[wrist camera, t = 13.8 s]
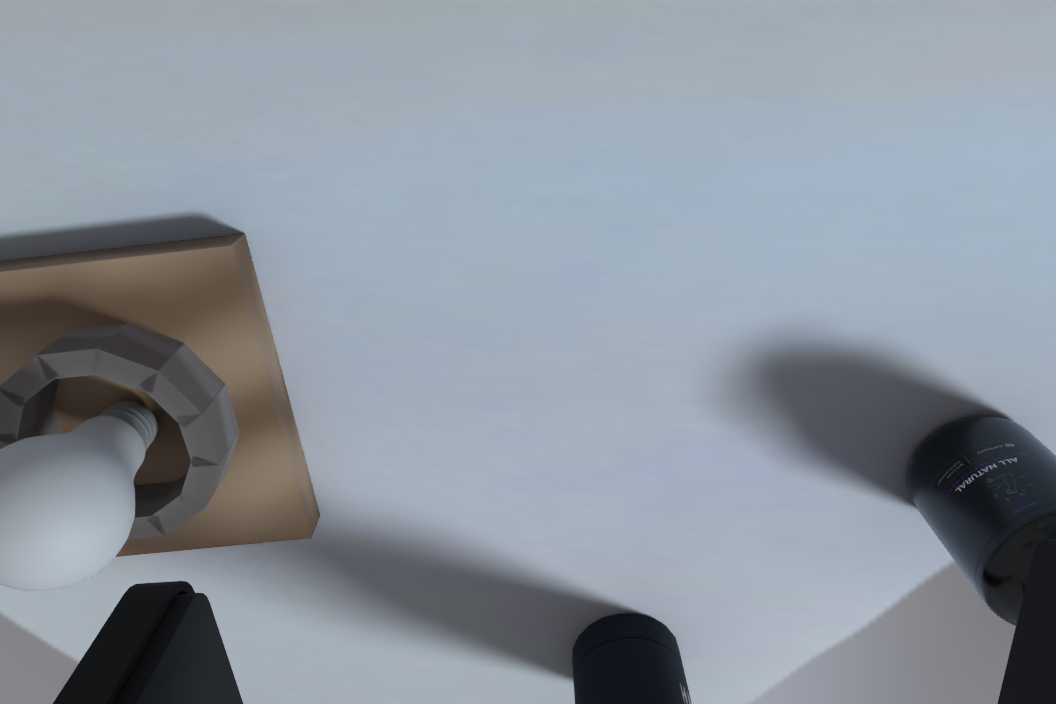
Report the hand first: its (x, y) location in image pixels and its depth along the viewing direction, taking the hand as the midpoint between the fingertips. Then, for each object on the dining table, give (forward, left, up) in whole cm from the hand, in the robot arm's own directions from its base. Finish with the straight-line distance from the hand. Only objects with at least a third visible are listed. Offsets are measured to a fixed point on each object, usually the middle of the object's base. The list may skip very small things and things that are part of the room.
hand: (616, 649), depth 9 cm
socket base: (+10, -22, -30) cm, 38 cm away
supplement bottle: (+19, +20, -30) cm, 41 cm away
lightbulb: (+10, -21, -28) cm, 36 cm away
